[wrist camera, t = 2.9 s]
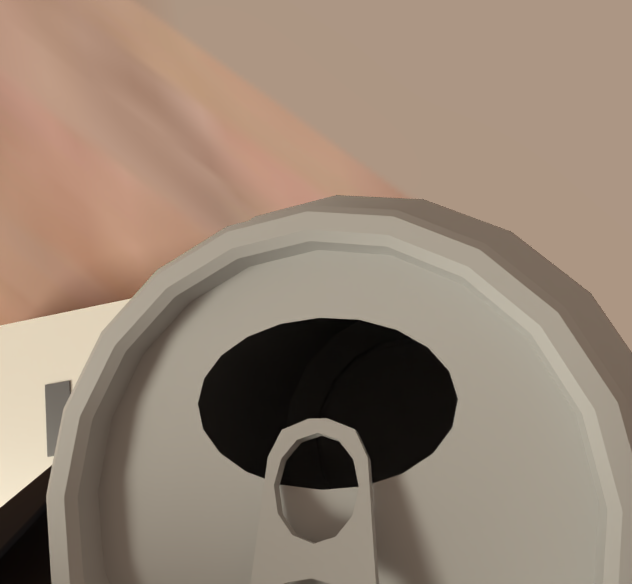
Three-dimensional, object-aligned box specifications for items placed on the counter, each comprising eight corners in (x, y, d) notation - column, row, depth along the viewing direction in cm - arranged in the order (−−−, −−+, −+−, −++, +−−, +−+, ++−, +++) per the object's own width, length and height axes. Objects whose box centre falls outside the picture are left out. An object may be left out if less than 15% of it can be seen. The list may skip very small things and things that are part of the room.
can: (546, 304, 17) (690, 90, 6) (571, 589, 15) (841, 1099, 4) (292, 317, 19) (8, 179, 7) (294, 573, 17) (-55, 895, 6)
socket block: (291, 641, 17) (253, 689, 14) (-5, 659, 19) (-90, 704, 16) (251, 300, 19) (212, 281, 16) (-10, 351, 21) (-86, 342, 18)
